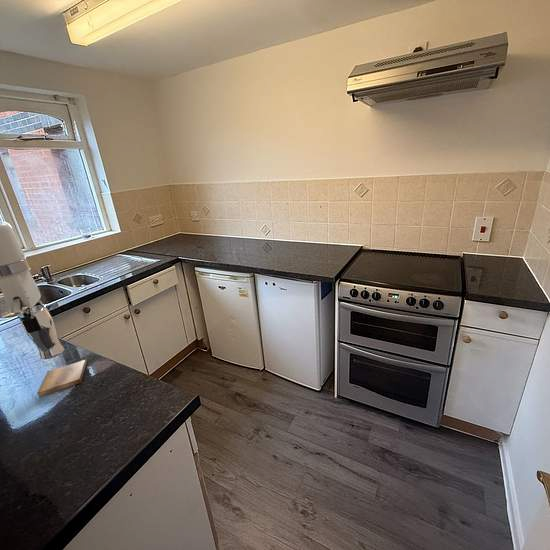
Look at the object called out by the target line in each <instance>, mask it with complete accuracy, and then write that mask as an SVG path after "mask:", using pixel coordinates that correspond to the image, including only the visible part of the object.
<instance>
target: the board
mask: <svg viewBox="0 0 550 550" xmlns="http://www.w3.org/2000/svg"><path fill="white" fill-rule="evenodd" d="M86 367H87V360H86V359H83V360H79V361H76V362H73V363H70V364H66V365H63V366H60V367H57V368H54V369H51V370H47V372H46V373H45V376H44V378H43V380H42V382H41V384H40V386H39V388H38V390H37V393H36V394H37V395H38V397H42V396H45V395H48V394H52V393H55V392H57V391H60V390H64V389H66V388H69V387H73V386H76V385H79V384H81V383H82V381H83V378H84V374H85V371H86Z"/></svg>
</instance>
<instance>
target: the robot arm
mask: <svg viewBox="0 0 550 550" xmlns="http://www.w3.org/2000/svg"><path fill="white" fill-rule="evenodd" d="M31 270H32V269H31V266H30V265H29V262H28V260H27V258H26V255H25V253H24V250H23V248H22V247H21V244H20V242H19V240H18V237H17V236H16V233H15V231H14V229H13V227H12V225H11V224H10V223H8V222H7V221H0V290H1V293H2V296H3V298H4V300H5V303H6V305H7V307H8V310H9V311H10V313H11V314H12V313H13V314H14V315H15V316H17V318H18V319H19V318H20V319H19V321H21V322H22V323H23V325H24V327H25V329H26V331H27V333H32V332H35V331H39V330H41V327H40V324H39V322H38V320H37V318H36V317H34V315H33V311H32V308H33V307H34V306H37V305H44V303H43V301H42V294H41V292H40V289H39V286H38V285H37V283H36V281H35V279H34V277H33V275H32V274H31ZM24 311H28V312H29V314H28V313H26V312H25V313H24ZM21 322H20V323H21Z"/></svg>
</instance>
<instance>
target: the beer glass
mask: <svg viewBox="0 0 550 550" xmlns="http://www.w3.org/2000/svg"><path fill="white" fill-rule="evenodd" d="M32 311H33V315H34V317H36V318H37V320H38V322H39V324H40V327H41V330H39V331H35V332H32V333H27V331H26V329H25V327H24V325H23V323H22V322H21V321H20V318H18V319H19V321H20V324H21V327H22V329H23V330H24V332H25V333H26V335H27V336H28V338H29V339H30V340H31V341H32V343H33V344H35V346H36V348H37V351H38V353H39V358H40V359H41V360H43V361H45V360H50V359H53V358H56V357H58V356H59V355H62V353H63V352H64V351H65V347H64V345H62V343H61V342H60V340H59V338H58V334H57V330H56V329H57V328H56V325H55V322H54V319H53V317H52V315H51V313H50V311H49V310H48V307H47V306H46V304H43V305H37V306H34V307H33V308H32ZM25 312H26V313H28V314H29V312H28V311H24V313H25Z"/></svg>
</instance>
